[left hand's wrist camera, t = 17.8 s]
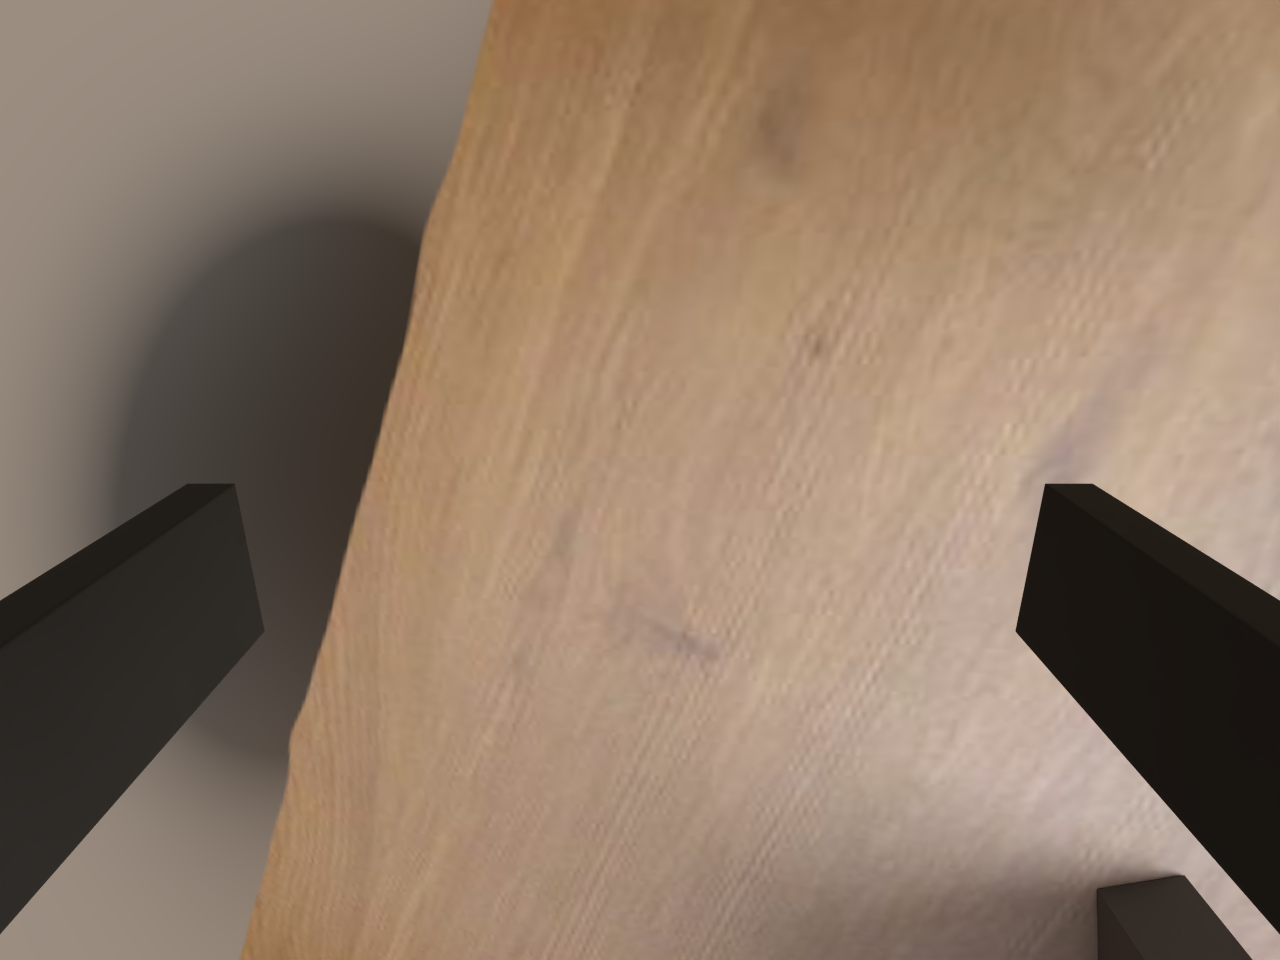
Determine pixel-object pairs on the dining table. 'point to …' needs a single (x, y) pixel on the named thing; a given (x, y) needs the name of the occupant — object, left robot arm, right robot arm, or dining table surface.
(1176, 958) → the box
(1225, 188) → the dining table surface
